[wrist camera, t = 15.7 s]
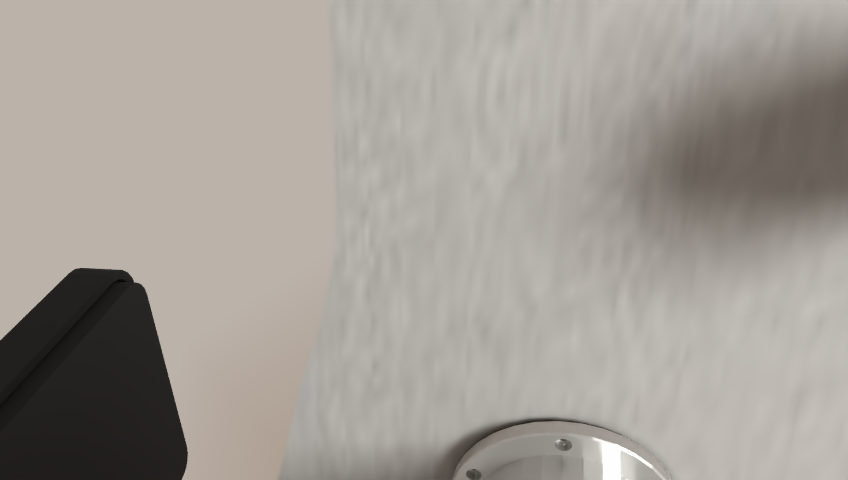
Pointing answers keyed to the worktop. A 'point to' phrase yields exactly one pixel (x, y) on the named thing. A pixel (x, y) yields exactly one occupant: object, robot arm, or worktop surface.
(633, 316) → the worktop surface
